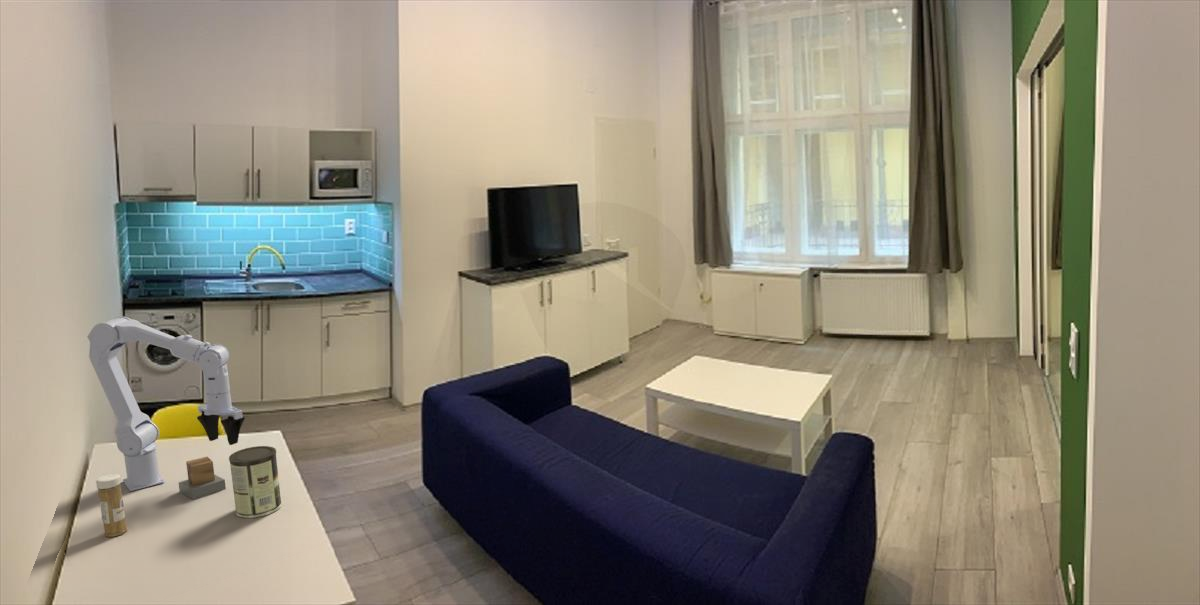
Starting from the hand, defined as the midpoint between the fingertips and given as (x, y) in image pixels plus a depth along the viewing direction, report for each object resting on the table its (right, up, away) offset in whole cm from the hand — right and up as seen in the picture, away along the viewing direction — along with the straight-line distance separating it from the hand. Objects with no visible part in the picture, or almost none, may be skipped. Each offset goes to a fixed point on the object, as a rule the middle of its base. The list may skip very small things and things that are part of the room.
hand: (223, 441), depth 200 cm
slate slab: (-3, -12, -5) cm, 13 cm away
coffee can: (+17, -13, -17) cm, 27 cm away
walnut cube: (-3, -9, -5) cm, 11 cm away
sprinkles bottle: (-11, -16, -27) cm, 33 cm away
